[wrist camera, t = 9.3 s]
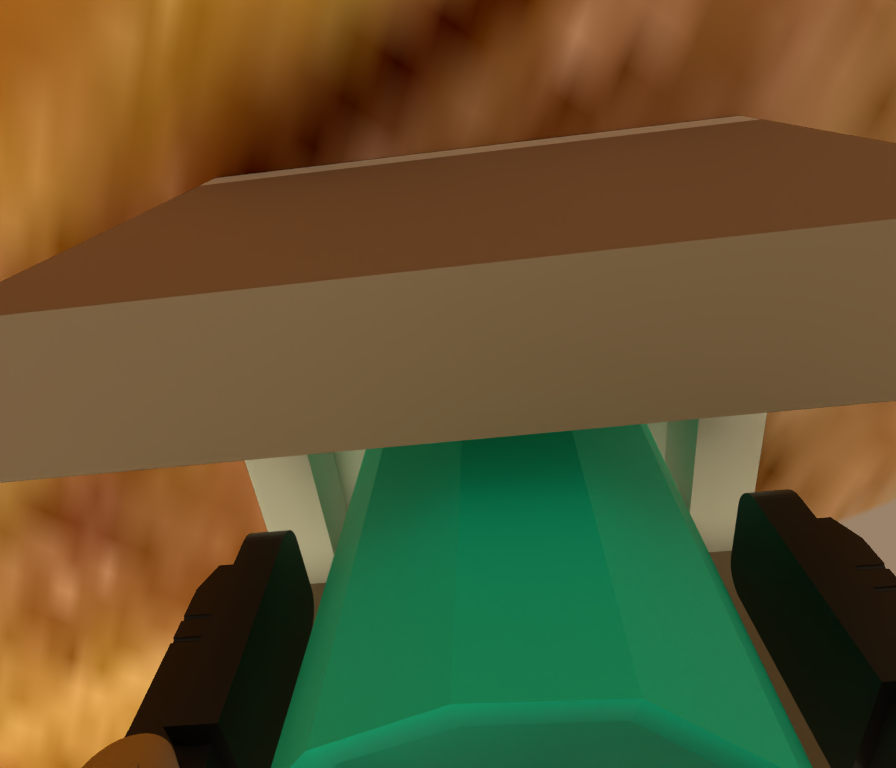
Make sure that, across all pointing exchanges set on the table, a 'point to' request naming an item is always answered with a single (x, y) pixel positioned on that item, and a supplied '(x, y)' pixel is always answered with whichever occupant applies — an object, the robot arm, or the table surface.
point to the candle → (529, 619)
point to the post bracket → (468, 317)
